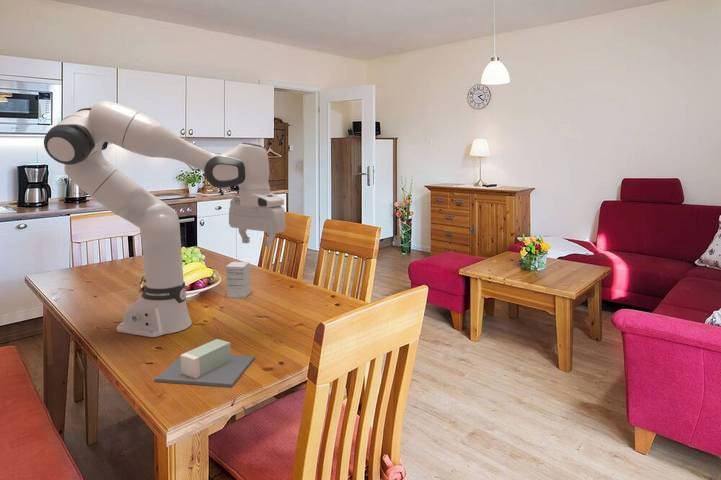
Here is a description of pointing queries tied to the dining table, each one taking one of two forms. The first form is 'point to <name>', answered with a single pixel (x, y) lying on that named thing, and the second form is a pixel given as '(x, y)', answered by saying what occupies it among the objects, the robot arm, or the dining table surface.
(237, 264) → the supplement box
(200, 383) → the rubber mat
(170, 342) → the dining table surface
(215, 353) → the sage block
